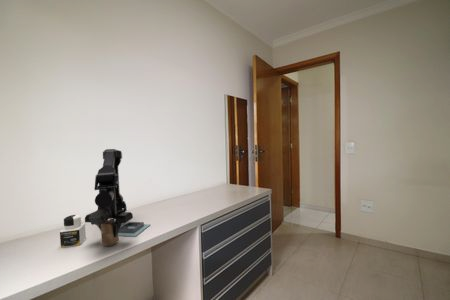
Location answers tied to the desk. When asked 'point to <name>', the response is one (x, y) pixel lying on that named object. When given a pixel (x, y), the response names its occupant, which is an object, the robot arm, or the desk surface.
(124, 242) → the desk surface
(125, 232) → the socket holder
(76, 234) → the medicine bottle
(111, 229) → the walnut peg
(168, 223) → the desk surface
